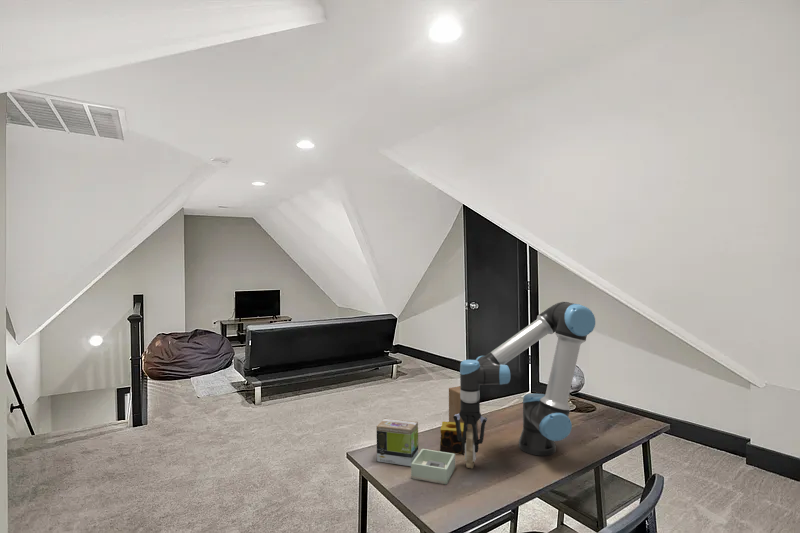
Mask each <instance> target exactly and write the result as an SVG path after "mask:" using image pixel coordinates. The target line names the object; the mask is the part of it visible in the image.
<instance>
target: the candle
mask: <svg viewBox="0 0 800 533" xmlns="http://www.w3.org/2000/svg"><path fill="white" fill-rule="evenodd" d="M460 427H461V435H462V437H463V428H464V423H460ZM439 429H440V430H439V431H440V442H439V443H440V445H439V449H440V450H439V451H441V452H447V453H454V454H455V455H456V454H457V455H464V456H465V451H463V450H462V442H461V441H458V439H457V431H456V423H455V422H449V421H441V427H440V428H439Z"/></svg>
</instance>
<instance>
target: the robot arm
mask: <svg viewBox="0 0 800 533" xmlns="http://www.w3.org/2000/svg"><path fill="white" fill-rule="evenodd" d="M595 328H596V317H595V314H594V313H593V311H592V310H591V309H590V308H588V307H587V306H584V305H582V304H579V303H573V302H568V301H561V302H557V303H555V304H553V305H550V307H548V308H547V309H544V311H542V312H541V313H539V314H538V315H537V316H536V320H535V319H534V320H533V322H531V323H530V324H528V325H527V326H525V327H524V328H523V329H521V330H520V331H518V332H517V333H515V334H514V335H513V336H511V337H510V338H508V339H507V340H506V341H505V342H503V343H502V344H501V343H500V345H499V346H497V347H496V348H495V349H493V350H492V351H489V353H487V354H486V355H480V356H477V357H476V359H464V360H462V361H461V362H460V367H459V376H460V377H459V378H460V379H459V382H460V383H459V384H460V385H459V386H460V399H461V401H460V413H459V414H455V415H454V417H453V418H454V420H455V423H456V431H457V439H458V441H461V442H462V450H463V451H464V460H465V461H466V431H467V429H468V424H471V425H472V428H473V435H474V443H473V461H474V463H476V459H477V454H478V452H479V449H480V448H479V445H480V444H483V442H484V436H485V428H486V423H487V421H488V417H484V416H482V414H481V408H480V407H481V406H480V405H481V404H480V399H481V398H480V397H481V396H480V389H481V388H480V386H488V385H489V386H491V385H499V386H502V385H508V384H509V383H510V382H511V376H512V375H511V370H510V367H509V365H507V364H508V363H509V362H511V361H512V360H513V359H515V358H516V357H517V356H519V355H520V354H521V353H523V352H524V351H526V350H528V348H530V347H531V346H532V345H534V344H536V343H537V342H539V341H540V340H541V339H543V338H545V337H546V336H547V335H549V334H550V335H553V334H555V335H556V338H557V342H556V346H555V351H554V355H553V361H552V364H551V367H550V368H551V369H550V372H549V378H548V382H547V386H546V391H545V394H544V393H527V394H524V396H523V398H522V431H521V434H520V436H519V439H518V440H519V441H518V448H519V449H520V451H522V452H524V453H526V454H528V455H529V454H530V455H534V456H541V457H542V456H550V455H553V454H555V453H556V451H557V447H556V443H555V442H559V441H562V440H564V439H567V437H568V436H569V435H570V434H571V432H572V428H573V427H572V426H573V425H572V421H571V418H570V417H569V416H570V411H571V406H570V405H569V404H568V401H569V397H570V391H571V389H572V388H571V387H572V384H573V379H574V375H575V371H576V365H577V361H578V358H579V352H580V349H581V344H583V343H585V342H586V341H587V336H588V335H590V334H591V333H593V331H594V329H595ZM460 417H461V418H462V420H463V421H464V428H463V437H462V435H461V427H460V420H459V419H460ZM479 420H480V423H481V425H480V431H479V432H477V421H478V422H479Z"/></svg>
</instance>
